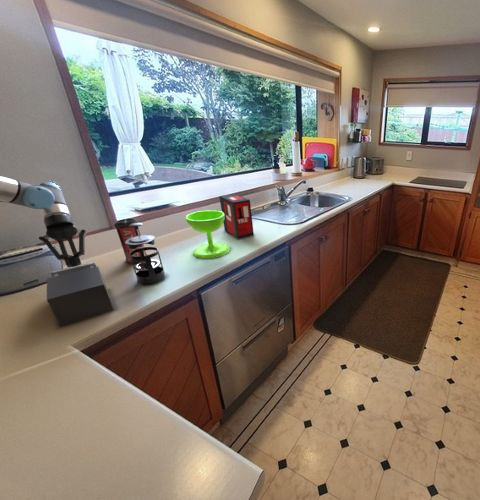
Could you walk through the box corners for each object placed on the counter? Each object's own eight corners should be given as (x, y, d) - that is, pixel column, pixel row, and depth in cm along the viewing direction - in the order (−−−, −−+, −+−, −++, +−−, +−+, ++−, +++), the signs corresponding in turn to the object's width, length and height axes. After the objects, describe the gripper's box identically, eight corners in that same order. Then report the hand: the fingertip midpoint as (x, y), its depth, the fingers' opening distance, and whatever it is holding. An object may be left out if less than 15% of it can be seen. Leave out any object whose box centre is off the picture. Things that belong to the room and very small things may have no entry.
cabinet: (58, 303, 94) (46, 278, 90) (107, 289, 103) (98, 266, 98) (60, 326, 84) (46, 299, 80) (113, 309, 92) (104, 284, 88)
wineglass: (236, 246, 141) (231, 211, 134) (217, 260, 127) (210, 222, 119) (207, 242, 143) (201, 209, 136) (185, 256, 129) (177, 219, 122)
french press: (169, 280, 110) (154, 225, 100) (140, 288, 104) (122, 230, 94) (161, 269, 117) (146, 217, 108) (134, 276, 111) (116, 221, 102)
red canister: (147, 254, 129) (136, 217, 122) (147, 260, 124) (136, 222, 116) (127, 257, 125) (114, 219, 118) (126, 264, 120) (112, 225, 112)
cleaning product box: (224, 230, 160) (219, 196, 151) (239, 227, 166) (235, 193, 157) (238, 239, 150) (233, 202, 141) (253, 235, 156) (249, 199, 147)
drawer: (59, 289, 100) (50, 270, 96) (101, 279, 107) (94, 260, 104) (60, 310, 90) (50, 289, 86) (107, 296, 97) (99, 277, 94)
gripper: (82, 220, 113) (101, 271, 109) (35, 227, 105) (55, 282, 101) (78, 210, 107) (98, 264, 104) (29, 217, 99) (49, 275, 95)
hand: (77, 273), depth 102 cm, fingers closed
